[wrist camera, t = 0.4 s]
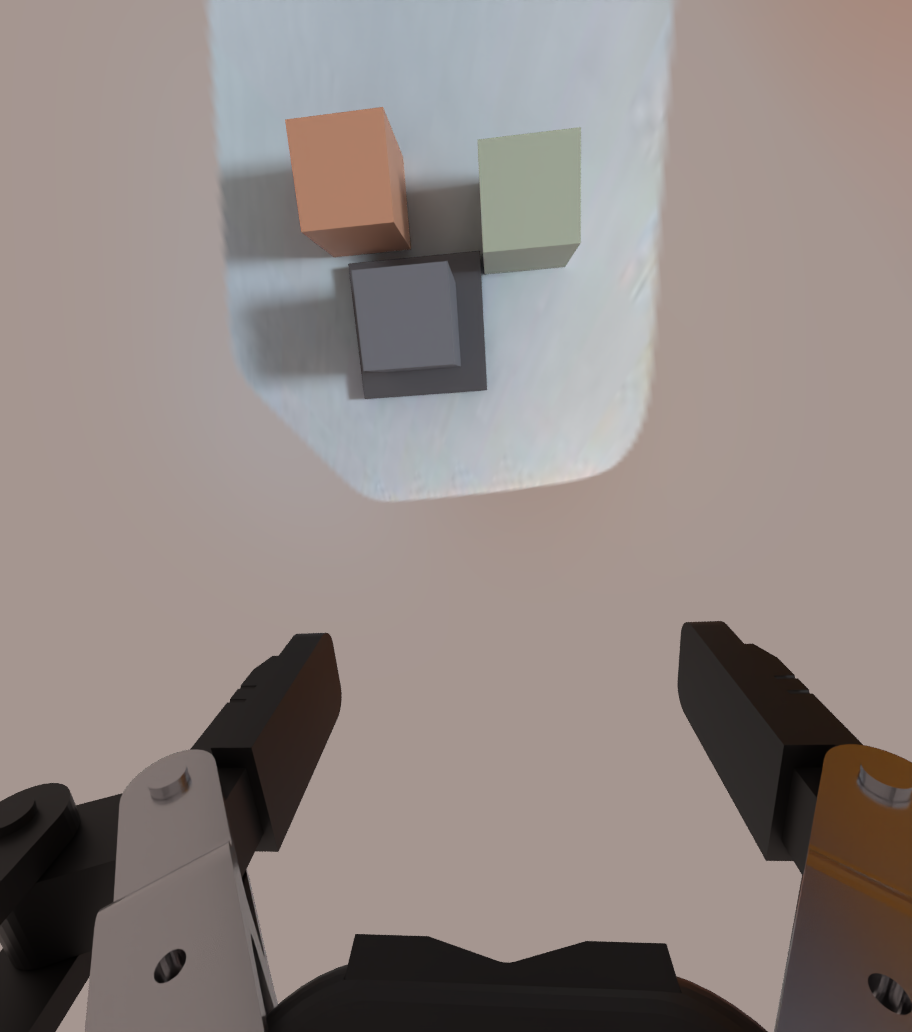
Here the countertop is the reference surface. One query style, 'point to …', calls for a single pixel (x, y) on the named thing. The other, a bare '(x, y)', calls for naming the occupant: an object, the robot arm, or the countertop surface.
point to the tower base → (468, 329)
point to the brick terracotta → (349, 182)
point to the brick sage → (530, 200)
